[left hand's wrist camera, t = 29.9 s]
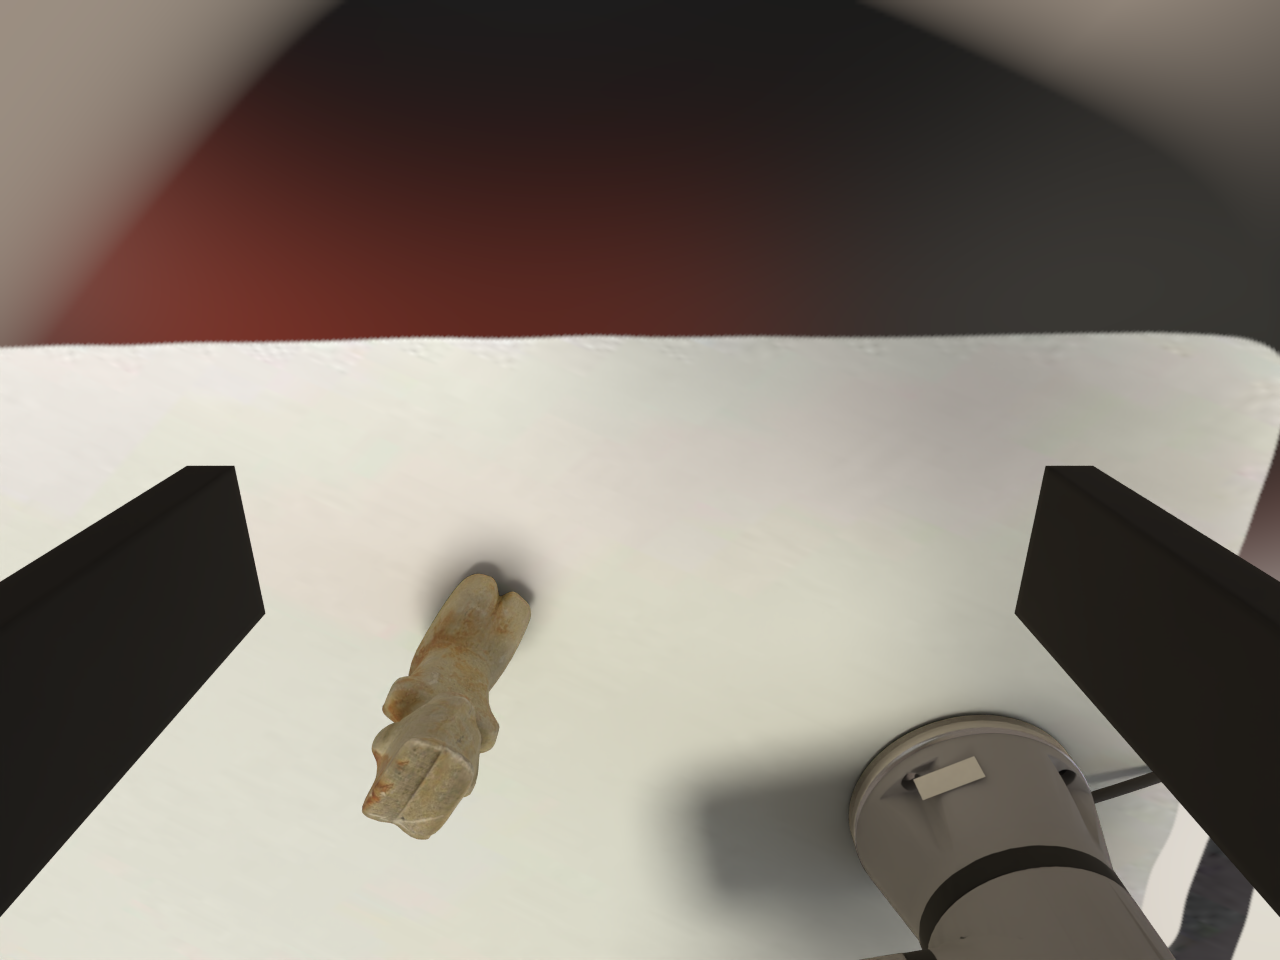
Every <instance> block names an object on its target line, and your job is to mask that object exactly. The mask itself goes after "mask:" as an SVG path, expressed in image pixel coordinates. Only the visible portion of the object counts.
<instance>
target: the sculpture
mask: <svg viewBox="0 0 1280 960" xmlns="http://www.w3.org/2000/svg"><path fill="white" fill-rule="evenodd" d="M530 617H531V610H530V607H529V605H528V603H527V602H526V601H525V600H524V599H523V598H522V597H521V596H520V595H519V594H517V593H515V592H509V593H507V594H505V595H503V596H499V593H498V588H497V584H496V582H495V580H494V579H493V578H492V577H490V576H487V575H483V574H473V575H471V576H469V577H467V578H465V579H464V580H463V581H462V582H461V583H460V584H459V585H458V586H457V587H456V589H455V590H454V591H453V593H452V594H451V595H450V597H449V598H448V600H447V601H446V602H445V604H444V605H443V607H442V608H441V610H440V611H439V613H438V615H437V616H436V618H435V619H434V621H433V623H432V624H431V626H430V628H429V629H428V631H427V632H426V634H425V636H424V638H423V640H422V641H421V643H420V645H419V647H418V649H417V650H416V653H415V655H414V658H413V660H412V663H411V667H410V671H409V676H407V677H402V678H399V679H397V680H396V681H395V682H394V684H393V685H392V687H391V689H390V691H389V694H388V696H387V698H386V701H385V704H384V705H383V708H382V710H383V713H384V714H385V715H386V716H387V717H388V718H389V719H390V720H392V721H393V722H394V723H392V724H390V725H388V726H387V727H385V728H384V729H382V730H381V731H380V732H379V733H378V735H377V736H376V737H375V739H374V741H373V744H372V752H373V755H374V757H375V759H376V762H377V775H376V779H375V781H374V783H373V785H372V787H371V789H370V791H369V793H368V795H367V797H366V799H365V801H364V804H363V806H362V813H363V814H364V815H365V816H367V817H368V818H371V819H374V820H377V821H380V822H388V823H393V824H395V825H397V826H398V827H399V828H400V829H401V830H403V831H404V832H405V833H406V834H408V835H409V836H411V837H413V838H416V839H423V840H424V839H429V837H430V836H431V835H432V834H434V833H436V832H437V831H438V830H439V829H440V828H441V827H442V826H443V825H444V823H445V822H446V821H447V820H448V818H449V817H450V815H451V814H452V812H453V811H454V809H455V808H456V806H457V805H458V803H459V802H460V801H461V799H462V798H463V797H466V796H468V795H470V794H471V792H472V790H473V788H474V786H475V784H476V779H477V775H478V766H479V754H480V753H484V752H486V751H488V750H490V749H491V748H492V747H493V746H494V744H495V742H496V738H497V735H498V731H499V724H498V722H497V721H496V719H495V717H494V715H493V714H492V712H491V709H490V706H489V691H490V690H491V688H492V687H493V686H494V684H495V683H496V682H497V680H498V679H499V677H500V676H501V675H502V673H503V672H504V670H505V669H506V667H507V665H508V664H509V662H510V660H511V659H512V657H513V655H514V653H515V651H516V649H517V647H518V645H519V643H520V641H521V639H522V637H523V635H524V633H525V630H526V628H527V626H528V623H529V621H530Z"/></svg>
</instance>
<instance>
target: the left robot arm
mask: <svg viewBox="0 0 1280 960" xmlns="http://www.w3.org/2000/svg"><path fill="white" fill-rule="evenodd" d="M264 614H265V609H264V605H263V600H262V595H261V590H260V586H259V581H258V576H257V571H256V567H255V562H254V557H253V552H252V547H251V543H250V538H249V533H248V528H247V524H246V519H245V514H244V509H243V505H242V500H241V495H240V490H239V486H238V481H237V476H236V471H235V467H234V466H186V467H184V468H183V469H181V470H180V471H178V472H176V473H175V474H173V475H171V476H170V477H168V478H167V479H165V480H163V481H162V482H160V483H159V484H157V485H155V486H154V487H152V488H151V489H149V490H147V491H146V492H144V493H143V494H141V495H139V496H138V497H136V498H134V499H133V500H131V501H130V502H128V503H126V504H125V505H123V506H122V507H120V508H118V509H117V510H115V511H114V512H112V513H110V514H109V515H107V516H105V517H104V518H102V519H101V520H99V521H97V522H96V523H94V524H93V525H91V526H89V527H88V528H86V529H85V530H83V531H81V532H80V533H78V534H77V535H75V536H73V537H72V538H70V539H68V540H67V541H65V542H64V543H62V544H60V545H59V546H57V547H56V548H54V549H52V550H51V551H49V552H48V553H46V554H44V555H43V556H41V557H39V558H38V559H36V560H35V561H33V562H31V563H30V564H28V565H27V566H25V567H23V568H22V569H20V570H19V571H17V572H15V573H14V574H12V575H11V576H9V577H7V578H6V579H4V580H2V581H1V582H0V917H1V916H2V914H3V913H4V912H5V911H6V910H7V909H8V908H9V906H10V905H11V904H12V903H13V902H14V901H15V900H16V898H17V897H18V896H19V895H20V894H21V893H22V892H23V890H24V889H25V888H26V887H27V886H28V885H29V884H30V882H31V881H32V880H33V879H34V878H35V877H36V876H37V874H38V873H39V872H40V871H41V870H42V869H43V868H44V866H45V865H46V864H47V863H48V862H49V861H50V859H51V858H52V857H53V856H54V855H55V854H56V853H57V851H58V850H59V849H60V848H61V847H62V846H63V845H64V843H65V842H66V841H67V840H68V839H69V838H70V837H71V835H72V834H73V833H74V832H75V831H76V830H77V829H78V827H79V826H80V825H81V824H82V823H83V822H84V821H85V819H86V818H87V817H88V816H89V815H90V814H91V813H92V811H93V810H94V809H95V808H96V807H97V806H98V805H99V803H100V802H101V801H102V800H103V799H104V798H105V797H106V795H107V794H108V793H109V792H110V791H111V790H112V788H113V787H114V786H115V785H116V784H117V783H118V782H119V780H120V779H121V778H122V777H123V776H124V775H125V774H126V772H127V771H128V770H129V769H130V768H131V767H132V766H133V764H134V763H135V762H136V761H137V760H138V759H139V758H140V756H141V755H142V754H143V753H144V752H145V751H146V750H147V748H148V747H149V746H150V745H151V744H152V743H153V742H154V740H155V739H156V738H157V737H158V736H159V735H160V734H161V732H162V731H163V730H164V729H165V728H166V727H167V726H168V724H169V723H170V722H171V721H172V720H173V719H174V717H175V716H176V715H177V714H178V713H179V712H180V711H181V709H182V708H183V707H184V706H185V705H186V704H187V703H188V701H189V700H190V699H191V698H192V697H193V696H194V695H195V693H196V692H197V691H198V690H199V689H200V688H201V687H202V685H203V684H204V683H205V682H206V681H207V680H208V679H209V677H210V676H211V675H212V674H213V673H214V672H215V671H216V669H217V668H218V667H219V666H220V665H221V664H222V663H223V661H224V660H225V659H226V658H227V657H228V656H229V655H230V653H231V652H232V651H233V650H234V649H235V648H236V646H237V645H238V644H239V643H240V642H241V641H242V640H243V638H244V637H245V636H246V635H247V634H248V633H249V632H250V630H251V629H252V628H253V627H254V626H255V625H256V624H257V622H258V621H259V620H260V619H261V618H262V617H263V616H264ZM1015 614H1016V616H1017V617H1018V618H1019V619H1020V620H1021V621H1022V622H1023V624H1024V625H1025V626H1026V627H1027V628H1028V629H1029V630H1030V632H1031V633H1032V634H1033V635H1034V636H1035V637H1036V638H1037V640H1038V641H1039V642H1040V643H1041V644H1042V645H1043V646H1044V648H1045V649H1046V650H1047V651H1048V652H1049V653H1050V655H1051V656H1052V657H1053V658H1054V659H1055V660H1056V661H1057V663H1058V664H1059V665H1060V666H1061V667H1062V668H1063V669H1064V671H1065V672H1066V673H1067V674H1068V675H1069V676H1070V677H1071V679H1072V680H1073V681H1074V682H1075V683H1076V684H1077V685H1078V687H1079V688H1080V689H1081V690H1082V691H1083V692H1084V693H1085V695H1086V696H1087V697H1088V698H1089V699H1090V700H1091V701H1092V703H1093V704H1094V705H1095V706H1096V707H1097V708H1098V709H1099V711H1100V712H1101V713H1102V714H1103V715H1104V716H1105V717H1106V719H1107V720H1108V721H1109V722H1110V723H1111V724H1112V726H1113V727H1114V728H1115V729H1116V730H1117V731H1118V732H1119V734H1120V735H1121V736H1122V737H1123V738H1124V739H1125V740H1126V742H1127V743H1128V744H1129V745H1130V746H1131V747H1132V748H1133V750H1134V751H1135V752H1136V753H1137V754H1138V755H1139V756H1140V758H1141V759H1142V760H1143V761H1144V762H1145V763H1146V764H1147V766H1148V767H1149V768H1150V769H1151V770H1152V771H1153V772H1151V773H1148V774H1145V775H1142V776H1139V777H1136V778H1133V779H1130V780H1127V781H1124V782H1121V783H1118V784H1115V785H1111V786H1108V787H1105V788H1102V789H1099V790H1095V791H1092V792H1091V791H1090V788H1089V786H1088V783H1087V780H1086V779H1085V777H1084V775H1083V773H1082V772H1081V770H1080V769H1079V768H1078V766H1077V765H1076V764H1075V762H1074V761H1073V760H1072V758H1071V757H1070V756H1069V754H1068V753H1067V752H1066V750H1065V749H1064V748H1063V747H1062V746H1061V744H1060V743H1059V742H1058V741H1057V740H1055V739H1054V738H1053V737H1052V736H1051V735H1049V734H1048V733H1046V732H1045V731H1043V730H1042V729H1040V728H1038V727H1036V726H1034V725H1032V724H1029V723H1026V722H1024V721H1021V720H1017V719H1013V718H1009V717H1003V716H995V715H967V716H959V717H953V718H948V719H944V720H940V721H937V722H933V723H930V724H928V725H925V726H922V727H920V728H918V729H916V730H914V731H911V732H909V733H908V734H906V735H904V736H902V737H901V738H899V739H897V740H896V741H895V742H893V743H892V744H890V745H889V746H888V747H886V748H885V749H884V750H883V751H882V752H880V753H879V754H878V755H877V756H876V757H875V758H874V759H873V760H872V762H871V763H870V764H869V765H868V766H867V768H866V769H865V770H864V772H863V773H862V775H861V776H860V778H859V780H858V782H857V784H856V786H855V788H854V791H853V793H852V797H851V800H850V806H849V827H850V831H851V835H852V838H853V842H854V845H855V848H856V851H857V854H858V857H859V859H860V862H861V864H862V866H863V868H864V869H865V871H866V872H867V874H868V875H869V877H870V878H871V879H872V881H873V882H874V883H875V885H876V886H877V887H878V888H879V890H880V891H881V892H882V894H883V895H884V896H885V898H886V899H887V900H888V901H889V903H890V904H891V905H892V907H893V908H894V909H895V910H896V912H897V913H898V914H899V916H900V917H901V918H902V919H903V921H904V922H905V923H906V925H907V926H908V927H909V928H910V930H911V931H912V932H913V933H914V935H915V936H916V937H917V939H918V940H919V942H920V945H921V947H922V950H920V951H914V952H907V953H898V954H892V955H885V956H879V957H873V958H867V959H861V960H1176V959H1175V958H1174V956H1173V955H1172V953H1171V952H1170V950H1169V949H1168V948H1167V946H1166V945H1165V943H1164V942H1163V940H1162V939H1161V938H1160V936H1159V935H1158V933H1157V932H1156V931H1155V929H1154V928H1153V926H1152V925H1151V924H1150V922H1149V921H1148V919H1147V918H1146V916H1145V915H1144V913H1143V912H1142V911H1141V909H1140V908H1139V906H1138V905H1137V904H1136V902H1135V901H1134V899H1133V898H1132V897H1131V895H1130V894H1129V892H1128V891H1127V889H1126V888H1125V886H1124V885H1123V884H1122V882H1121V881H1120V879H1119V878H1118V876H1117V875H1116V873H1115V872H1114V870H1113V868H1112V864H1111V861H1110V857H1109V854H1108V850H1107V846H1106V843H1105V839H1104V836H1103V832H1102V829H1101V825H1100V822H1099V818H1098V815H1097V811H1096V808H1095V803H1098V802H1102V801H1105V800H1108V799H1111V798H1114V797H1117V796H1121V795H1124V794H1127V793H1130V792H1133V791H1136V790H1139V789H1142V788H1145V787H1148V786H1151V785H1154V784H1157V783H1160V782H1162V783H1163V784H1164V785H1165V786H1166V787H1167V788H1168V790H1169V791H1170V792H1171V793H1172V794H1173V795H1174V797H1175V798H1176V799H1177V800H1178V801H1179V802H1180V803H1181V805H1182V806H1183V807H1184V808H1185V809H1186V810H1187V811H1188V813H1189V814H1190V815H1191V816H1192V817H1193V818H1194V819H1195V821H1196V822H1197V823H1198V824H1199V825H1200V826H1201V827H1202V829H1203V830H1204V831H1205V832H1206V833H1207V834H1208V835H1209V837H1210V838H1211V839H1212V840H1213V841H1214V842H1215V843H1216V845H1217V846H1218V847H1219V848H1220V849H1221V850H1222V851H1223V853H1224V854H1225V855H1226V856H1227V857H1228V858H1229V859H1230V861H1231V862H1232V863H1233V864H1234V865H1235V866H1236V868H1237V869H1238V870H1239V871H1240V872H1241V873H1242V874H1243V876H1244V877H1245V878H1246V879H1247V880H1248V881H1249V882H1250V884H1251V885H1252V886H1253V887H1254V888H1255V889H1256V890H1257V892H1258V893H1259V894H1260V895H1261V896H1262V897H1263V898H1264V900H1265V901H1266V902H1267V903H1268V904H1269V905H1270V906H1271V908H1272V909H1273V910H1274V911H1275V912H1276V913H1277V914H1278V916H1279V917H1280V582H1279V581H1278V580H1276V579H1274V578H1273V577H1271V576H1269V575H1268V574H1266V573H1265V572H1263V571H1261V570H1260V569H1258V568H1257V567H1255V566H1253V565H1252V564H1250V563H1248V562H1247V561H1245V560H1244V559H1242V558H1241V557H1239V556H1237V555H1236V554H1234V553H1232V552H1231V551H1229V550H1228V549H1226V548H1224V547H1223V546H1221V545H1220V544H1218V543H1216V542H1215V541H1213V540H1212V539H1210V538H1208V537H1207V536H1205V535H1203V534H1202V533H1200V532H1199V531H1197V530H1195V529H1194V528H1192V527H1191V526H1189V525H1187V524H1186V523H1184V522H1183V521H1181V520H1179V519H1178V518H1176V517H1175V516H1173V515H1171V514H1170V513H1168V512H1166V511H1165V510H1163V509H1162V508H1160V507H1158V506H1157V505H1155V504H1154V503H1152V502H1150V501H1149V500H1147V499H1146V498H1144V497H1142V496H1141V495H1139V494H1137V493H1136V492H1134V491H1133V490H1131V489H1129V488H1128V487H1126V486H1125V485H1123V484H1121V483H1120V482H1118V481H1117V480H1115V479H1113V478H1112V477H1110V476H1109V475H1107V474H1105V473H1104V472H1102V471H1100V470H1099V469H1097V468H1096V467H1094V466H1046V467H1045V471H1044V476H1043V481H1042V486H1041V490H1040V495H1039V500H1038V505H1037V509H1036V514H1035V519H1034V524H1033V528H1032V533H1031V538H1030V543H1029V547H1028V552H1027V557H1026V562H1025V567H1024V571H1023V576H1022V581H1021V586H1020V590H1019V595H1018V600H1017V605H1016V609H1015Z"/></svg>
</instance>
